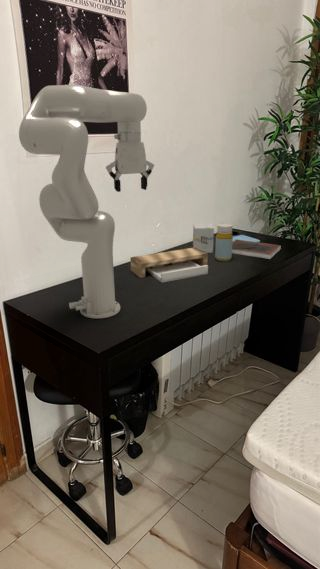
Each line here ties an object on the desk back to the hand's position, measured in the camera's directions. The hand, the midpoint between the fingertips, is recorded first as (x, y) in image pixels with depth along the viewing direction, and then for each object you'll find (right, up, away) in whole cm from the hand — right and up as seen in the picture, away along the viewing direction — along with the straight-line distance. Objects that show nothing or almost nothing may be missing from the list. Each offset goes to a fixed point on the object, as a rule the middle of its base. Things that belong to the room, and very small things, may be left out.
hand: (131, 190), depth 143 cm
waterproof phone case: (+51, -12, +62) cm, 81 cm away
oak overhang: (+14, -26, +24) cm, 38 cm away
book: (+52, -18, +47) cm, 72 cm away
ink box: (+30, -17, +47) cm, 58 cm away
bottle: (+37, -22, +35) cm, 56 cm away
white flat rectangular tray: (+17, -28, +19) cm, 38 cm away
